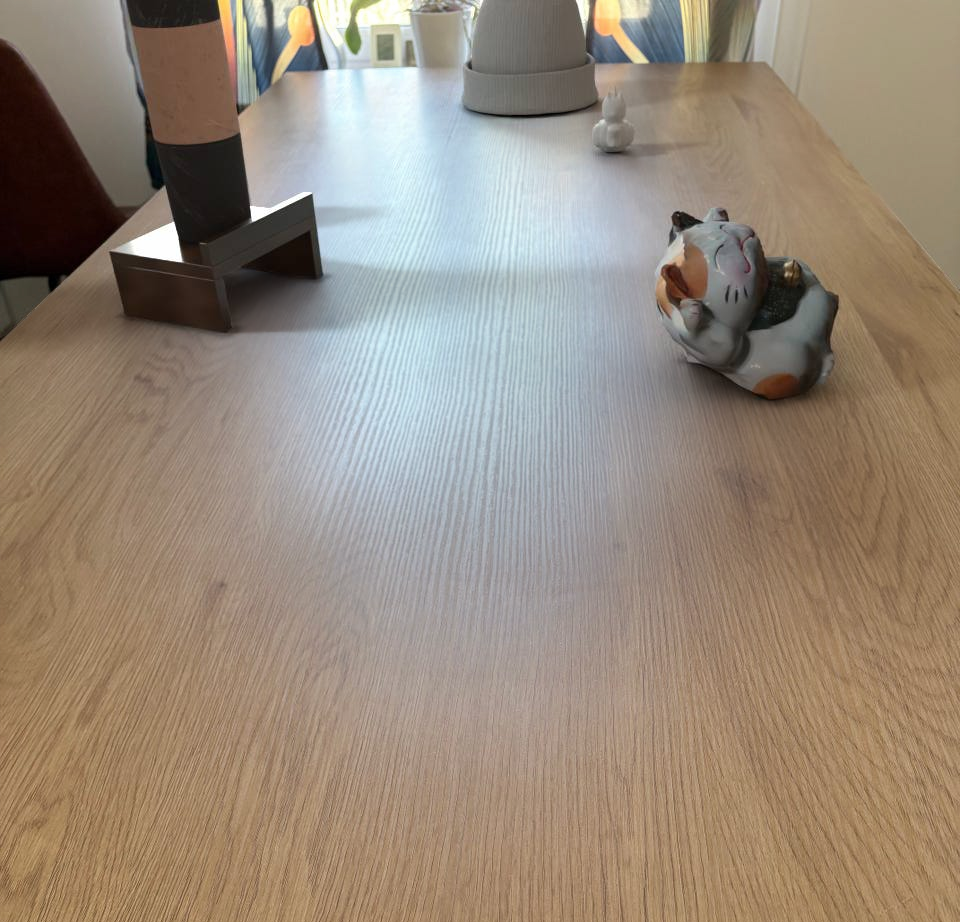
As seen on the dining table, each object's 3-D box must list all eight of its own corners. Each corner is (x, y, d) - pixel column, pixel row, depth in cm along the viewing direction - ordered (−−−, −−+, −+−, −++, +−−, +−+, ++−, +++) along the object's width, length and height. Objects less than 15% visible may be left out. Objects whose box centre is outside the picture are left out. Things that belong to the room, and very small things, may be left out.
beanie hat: (601, 149, 173) (611, 15, 170) (584, 106, 152) (596, -48, 149) (474, 149, 177) (481, 18, 174) (441, 107, 157) (449, -43, 153)
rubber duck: (631, 145, 144) (634, 79, 139) (635, 158, 138) (638, 90, 134) (590, 146, 144) (592, 80, 139) (592, 159, 139) (594, 91, 134)
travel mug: (183, 250, 98) (131, -4, 85) (167, 227, 103) (115, -14, 91) (265, 236, 100) (225, -13, 88) (245, 214, 106) (205, -23, 93)
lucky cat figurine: (825, 413, 80) (758, 259, 72) (680, 440, 88) (604, 304, 80) (858, 289, 88) (801, 137, 80) (722, 324, 96) (657, 188, 87)
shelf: (124, 314, 102) (103, 228, 97) (228, 260, 113) (214, 181, 108) (224, 333, 98) (207, 243, 93) (323, 275, 109) (312, 192, 104)
